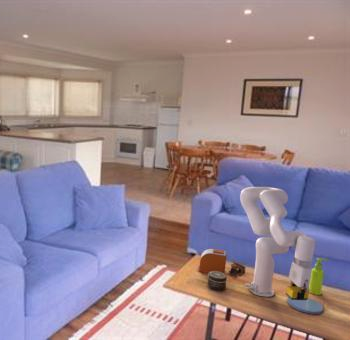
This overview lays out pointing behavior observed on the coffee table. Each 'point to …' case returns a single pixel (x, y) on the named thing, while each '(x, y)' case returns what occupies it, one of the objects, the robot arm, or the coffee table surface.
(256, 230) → the robot arm
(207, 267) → the brown toaster
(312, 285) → the soap dispenser
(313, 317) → the coffee table surface
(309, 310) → the plate
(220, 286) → the jar
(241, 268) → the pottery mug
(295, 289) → the sponge
